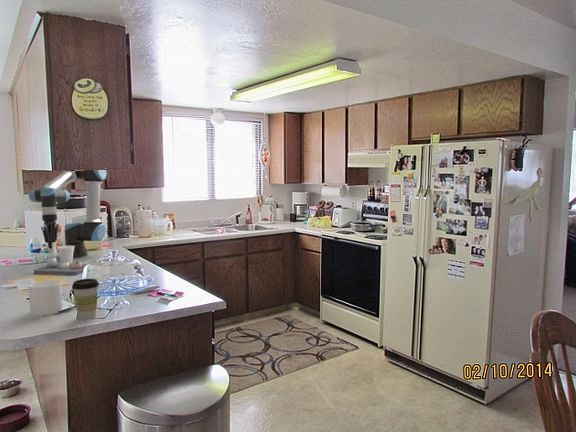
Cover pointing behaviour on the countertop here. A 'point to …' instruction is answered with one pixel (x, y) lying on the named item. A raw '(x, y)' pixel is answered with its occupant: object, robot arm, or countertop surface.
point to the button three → (77, 265)
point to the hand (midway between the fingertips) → (51, 253)
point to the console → (59, 270)
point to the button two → (64, 265)
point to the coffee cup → (86, 297)
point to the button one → (51, 262)
